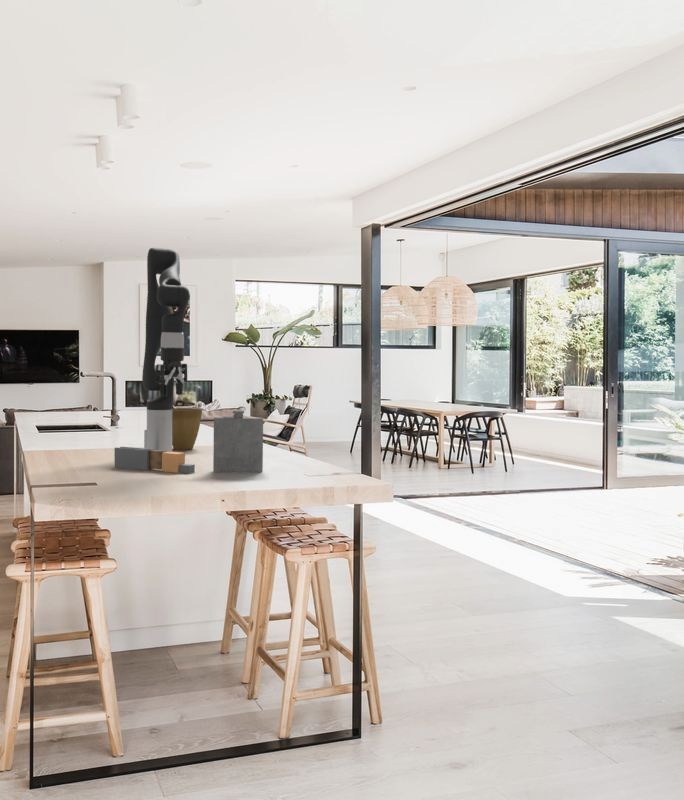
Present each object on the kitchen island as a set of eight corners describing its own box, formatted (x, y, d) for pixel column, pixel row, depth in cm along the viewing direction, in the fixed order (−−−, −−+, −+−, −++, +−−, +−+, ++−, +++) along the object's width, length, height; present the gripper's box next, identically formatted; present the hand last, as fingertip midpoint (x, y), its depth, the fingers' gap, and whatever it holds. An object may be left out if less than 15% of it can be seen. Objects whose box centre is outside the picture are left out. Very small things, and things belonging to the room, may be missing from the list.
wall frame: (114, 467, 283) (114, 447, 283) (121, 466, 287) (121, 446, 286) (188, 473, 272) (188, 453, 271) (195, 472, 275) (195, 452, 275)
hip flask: (262, 471, 281) (263, 410, 280) (262, 472, 277) (263, 411, 276) (213, 470, 280) (214, 409, 279) (212, 472, 276) (213, 410, 275)
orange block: (161, 471, 275) (162, 452, 275) (169, 469, 279) (169, 451, 279) (177, 472, 273) (177, 454, 273) (184, 471, 277) (184, 452, 276)
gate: (129, 467, 282) (129, 448, 282) (131, 466, 284) (131, 448, 283) (164, 470, 277) (164, 451, 277) (166, 469, 278) (166, 451, 278)
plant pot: (208, 448, 343) (209, 408, 342) (189, 452, 329) (189, 410, 328) (176, 446, 348) (177, 406, 348) (156, 449, 335) (156, 408, 334)
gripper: (175, 345, 290) (174, 393, 291) (149, 346, 277) (148, 396, 278) (194, 346, 287) (193, 395, 288) (168, 346, 274) (167, 397, 275)
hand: (171, 395), depth 283 cm, fingers open, 8 cm apart
